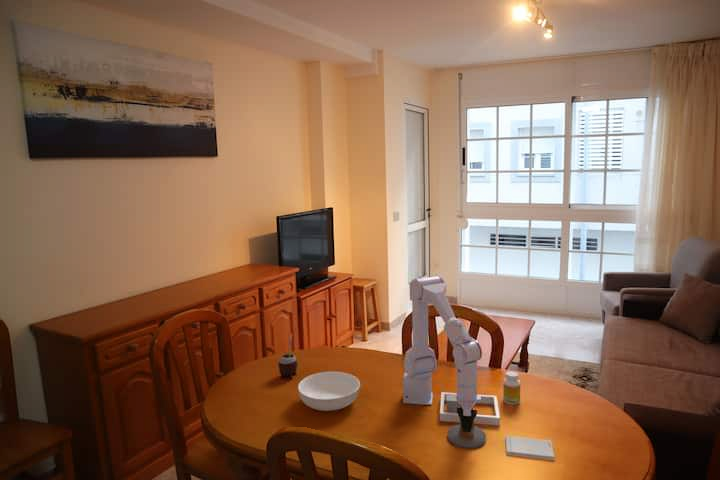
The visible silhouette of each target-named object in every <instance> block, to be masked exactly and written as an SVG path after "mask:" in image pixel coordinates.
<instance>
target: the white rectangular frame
mask: <svg viewBox="0 0 720 480" xmlns="http://www.w3.org/2000/svg"><path fill="white" fill-rule="evenodd" d="M447 394H448V395H457V392H444V391H441V395H440V405H439V406H440V407H439V408H440V409H439V422H450V423H452V422H453V423H460V417H459V415H458V414H457V413H449V412H447V411H444V410H445V402H447ZM477 396H481V401H477V402H476V404H484V405H485V404H486V405H493V410H494V415H488V414H486V415H485V414H477V415H476V417H475V418H474V425H476V424H477V425H479V424H480V425H487V426H488V425H489V426H501V416H500V410H499V402H498V397H497V396H498V395H489V394H477Z"/></svg>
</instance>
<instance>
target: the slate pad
mask: <svg viewBox="0 0 720 480" xmlns="http://www.w3.org/2000/svg"><path fill="white" fill-rule="evenodd" d="M446 436H447V440H448V441H449V442H450V443H451V444H452V445H454V446H456V447H457V448H463V449H472V450H473V449H476V448H481V447H482V446H484V445H485V444H486V442H487V435H486V433H485V431H484V430H483V429H481V428H480V427H478V426H475V425H474V439H469V438H460V423H459V424H455V425H452V426H451V427H449V429H447V435H446Z"/></svg>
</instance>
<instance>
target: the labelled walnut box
mask: <svg viewBox="0 0 720 480" xmlns="http://www.w3.org/2000/svg"><path fill="white" fill-rule="evenodd" d="M459 424H460V438H469V439H474V426H475V424H474V420H473V424H472V428H471V432H463V430H462V425H461V420H460V422H459Z"/></svg>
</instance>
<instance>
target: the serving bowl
mask: <svg viewBox="0 0 720 480" xmlns="http://www.w3.org/2000/svg"><path fill="white" fill-rule="evenodd" d="M360 389H361V382H360V380H359V379H358V377H356V376H354V375H353V374H350V373H346V372H341V371H324V372H317V373H313V374H311V375H308V376H306V377H305V378H303V379H302V380H301V381H299V383H298V386H297V390H298V391H297V392H298V395H299V397H300V399H301V401H302V402H303V403H304V404H305V406H307V407H309V408H311V409H313V410H317V411H324V412H328V411H329V412H331V411H337V410H338V411H339V410H341V409H343V408H347V407H348V406H349V405H352V403H353V402H354V401H355V400H356V399H357V397H358V395H359V393H360Z"/></svg>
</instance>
